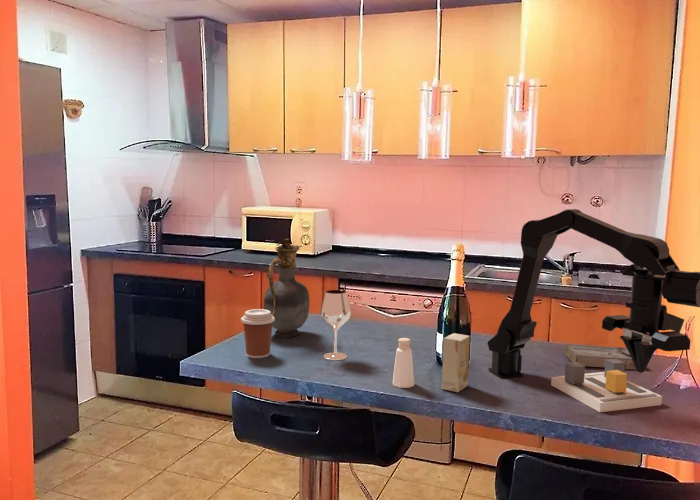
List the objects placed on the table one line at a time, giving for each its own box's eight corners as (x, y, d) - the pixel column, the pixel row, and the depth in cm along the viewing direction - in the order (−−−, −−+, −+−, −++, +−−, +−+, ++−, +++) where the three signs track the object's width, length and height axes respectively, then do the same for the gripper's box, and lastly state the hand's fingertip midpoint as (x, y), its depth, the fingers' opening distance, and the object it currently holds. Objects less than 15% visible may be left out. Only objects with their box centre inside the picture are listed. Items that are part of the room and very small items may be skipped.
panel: (599, 412, 126) (601, 382, 125) (551, 385, 142) (552, 359, 141) (661, 404, 131) (663, 376, 130) (607, 379, 147) (609, 354, 146)
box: (563, 354, 167) (564, 343, 166) (626, 357, 166) (627, 346, 165) (574, 367, 156) (575, 355, 156) (642, 371, 155) (643, 359, 155)
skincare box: (458, 393, 136) (460, 341, 135) (440, 389, 138) (442, 338, 137) (468, 385, 142) (470, 334, 140) (451, 381, 144) (453, 332, 142)
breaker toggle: (614, 392, 131) (615, 375, 130) (605, 388, 134) (606, 370, 133) (626, 391, 132) (627, 374, 131) (616, 387, 135) (617, 369, 134)
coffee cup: (265, 361, 158) (265, 316, 156) (235, 357, 161) (234, 313, 159) (280, 351, 166) (280, 309, 165) (251, 348, 169) (250, 307, 168)
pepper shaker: (417, 382, 143) (419, 337, 142) (410, 389, 138) (411, 343, 137) (396, 379, 145) (397, 335, 144) (388, 386, 140) (389, 340, 139)
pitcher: (313, 330, 191) (313, 236, 187) (286, 345, 173) (286, 242, 169) (282, 326, 194) (282, 235, 191) (253, 341, 176) (252, 240, 173)
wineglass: (315, 359, 160) (315, 293, 158) (327, 351, 168) (328, 287, 166) (343, 362, 157) (344, 295, 155) (354, 354, 165) (355, 290, 163)
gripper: (715, 306, 117) (708, 383, 119) (644, 289, 135) (638, 356, 137) (669, 309, 114) (663, 388, 116) (602, 291, 131) (598, 359, 133)
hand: (640, 371), depth 125 cm, fingers closed
